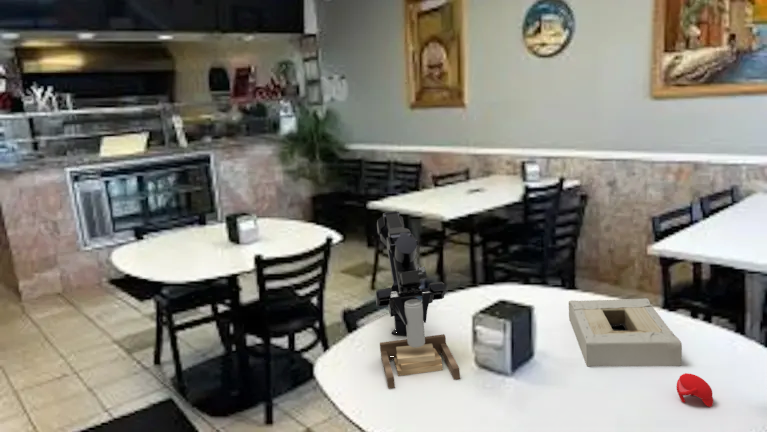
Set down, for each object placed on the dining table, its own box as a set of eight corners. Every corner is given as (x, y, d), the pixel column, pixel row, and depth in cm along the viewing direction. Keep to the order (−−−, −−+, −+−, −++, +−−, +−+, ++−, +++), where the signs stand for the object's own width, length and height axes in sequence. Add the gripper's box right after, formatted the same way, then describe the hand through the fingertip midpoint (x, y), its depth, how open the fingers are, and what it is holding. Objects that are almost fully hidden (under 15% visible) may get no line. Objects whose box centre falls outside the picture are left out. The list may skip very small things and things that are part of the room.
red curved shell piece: (667, 387, 133) (689, 383, 128) (676, 370, 137) (698, 365, 132) (691, 415, 133) (714, 411, 128) (700, 396, 136) (722, 392, 131)
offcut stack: (394, 362, 165) (392, 347, 164) (436, 356, 166) (435, 341, 165) (398, 376, 157) (396, 360, 156) (442, 370, 158) (441, 354, 157)
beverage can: (404, 346, 159) (401, 304, 156) (412, 339, 163) (408, 298, 160) (421, 349, 156) (417, 306, 154) (428, 341, 161) (425, 299, 158)
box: (683, 368, 149) (647, 318, 180) (683, 340, 147) (647, 294, 178) (587, 371, 153) (568, 322, 183) (586, 343, 151) (567, 298, 182)
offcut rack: (381, 359, 168) (379, 342, 167) (445, 350, 170) (444, 334, 169) (388, 388, 151) (386, 370, 150) (460, 378, 153) (458, 360, 152)
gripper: (372, 261, 158) (381, 315, 149) (441, 253, 159) (453, 306, 151) (372, 280, 167) (380, 332, 159) (437, 272, 169) (448, 323, 160)
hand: (415, 323), depth 157 cm, fingers closed on beverage can, 5 cm apart
